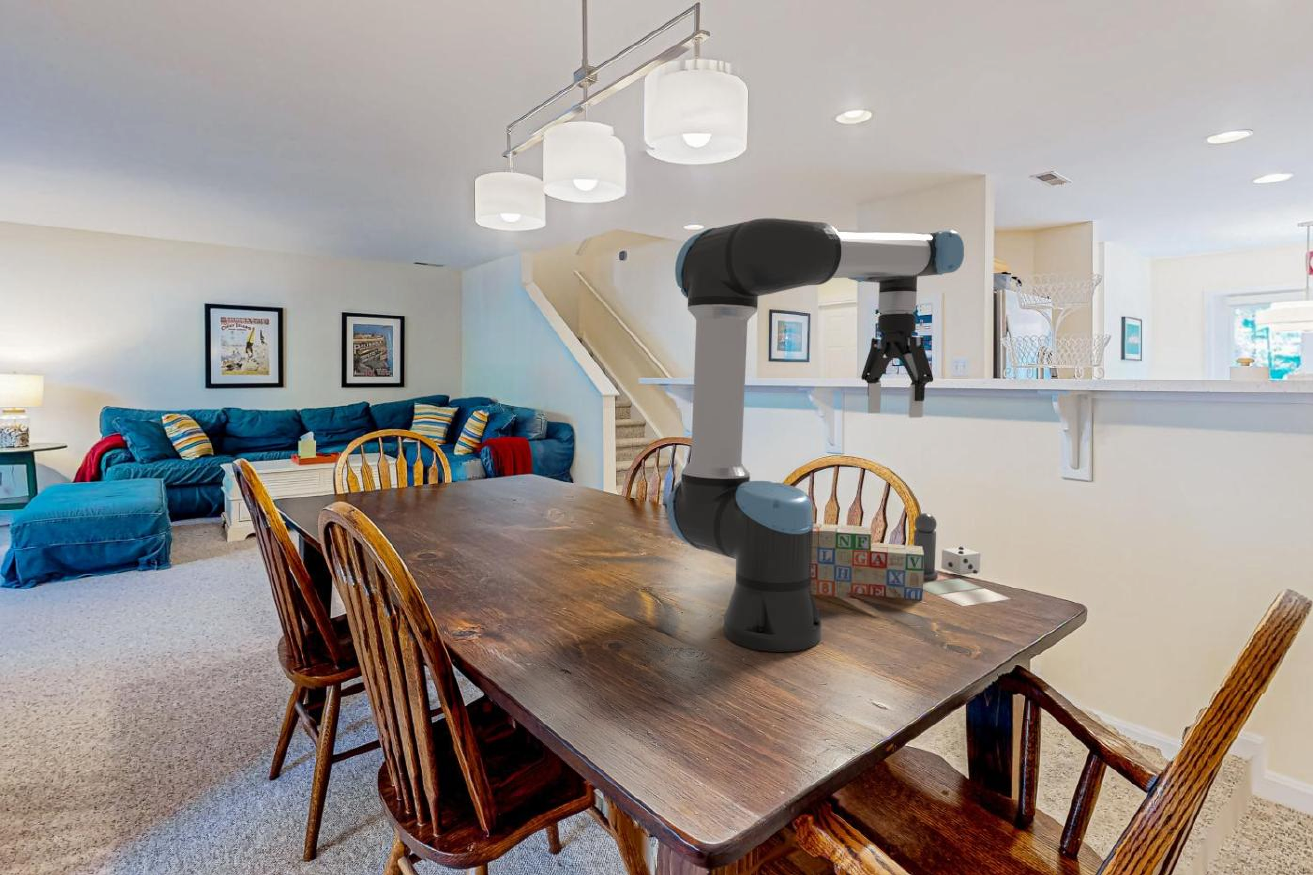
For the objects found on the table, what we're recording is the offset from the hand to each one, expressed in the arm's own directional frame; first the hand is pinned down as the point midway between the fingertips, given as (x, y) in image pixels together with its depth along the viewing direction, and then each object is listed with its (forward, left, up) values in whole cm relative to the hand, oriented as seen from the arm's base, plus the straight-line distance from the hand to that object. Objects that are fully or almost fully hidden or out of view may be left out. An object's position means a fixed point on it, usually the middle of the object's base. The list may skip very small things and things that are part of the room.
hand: (893, 415), depth 148 cm
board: (-4, -18, -32) cm, 36 cm away
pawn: (-4, -15, -31) cm, 34 cm away
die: (+6, -14, -32) cm, 35 cm away
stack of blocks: (-20, -17, -32) cm, 41 cm away
